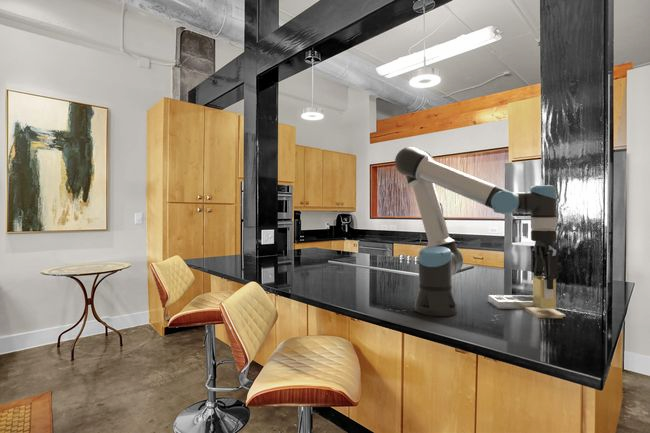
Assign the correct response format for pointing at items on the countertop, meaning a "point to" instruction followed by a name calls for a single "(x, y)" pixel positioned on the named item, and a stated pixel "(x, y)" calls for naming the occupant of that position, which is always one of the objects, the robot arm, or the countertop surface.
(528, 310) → the coaster
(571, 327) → the countertop surface
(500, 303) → the white recessed slab
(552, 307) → the block
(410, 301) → the countertop surface
